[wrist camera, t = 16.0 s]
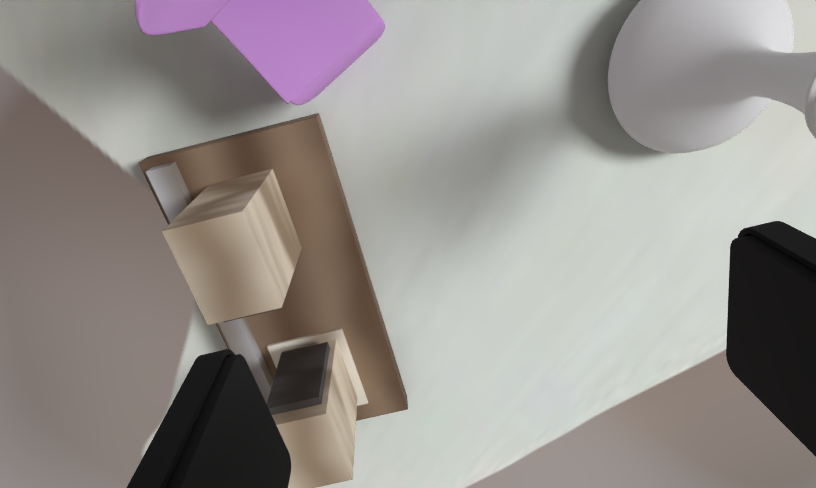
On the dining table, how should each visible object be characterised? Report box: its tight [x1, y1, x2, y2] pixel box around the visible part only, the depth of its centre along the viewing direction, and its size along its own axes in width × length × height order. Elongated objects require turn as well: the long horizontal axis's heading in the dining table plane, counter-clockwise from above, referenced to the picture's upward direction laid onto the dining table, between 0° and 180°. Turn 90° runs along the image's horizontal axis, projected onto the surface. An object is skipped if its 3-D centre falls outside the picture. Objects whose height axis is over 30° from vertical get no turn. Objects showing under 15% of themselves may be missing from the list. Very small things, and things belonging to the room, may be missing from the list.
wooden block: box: [266, 339, 357, 488], centre depth 36 cm, size 4×7×8 cm
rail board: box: [139, 113, 408, 421], centre depth 34 cm, size 12×25×10 cm, turn 14°
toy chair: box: [135, 0, 385, 105], centre depth 24 cm, size 8×9×15 cm
